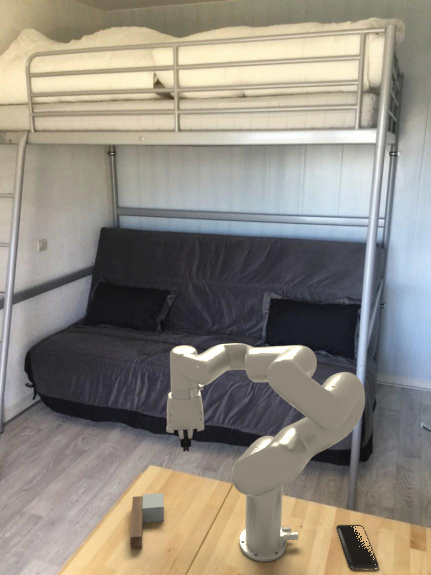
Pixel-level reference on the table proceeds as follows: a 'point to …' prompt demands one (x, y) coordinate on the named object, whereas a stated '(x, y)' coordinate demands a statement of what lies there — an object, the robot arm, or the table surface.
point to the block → (153, 507)
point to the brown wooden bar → (136, 523)
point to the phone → (355, 548)
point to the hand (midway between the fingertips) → (185, 448)
